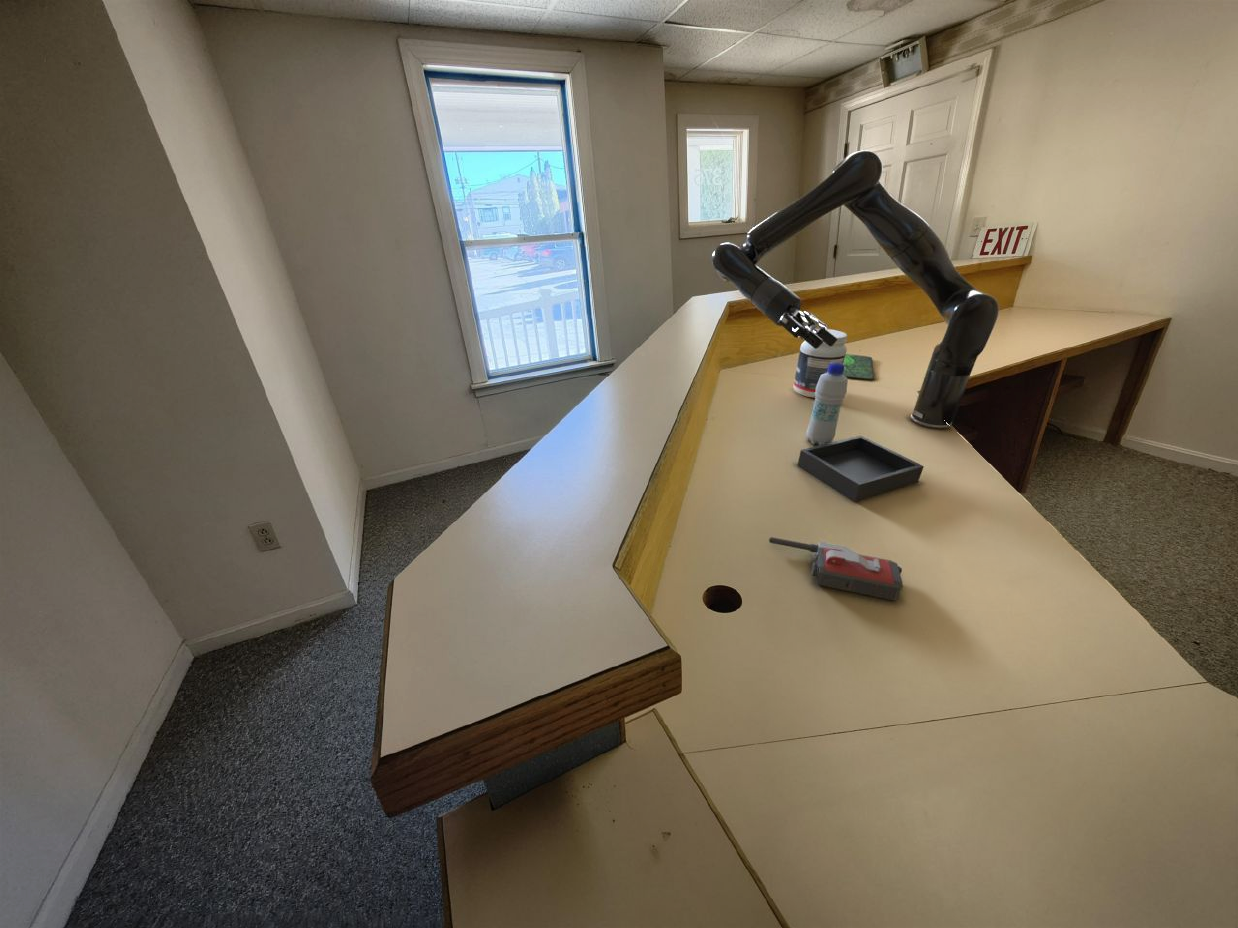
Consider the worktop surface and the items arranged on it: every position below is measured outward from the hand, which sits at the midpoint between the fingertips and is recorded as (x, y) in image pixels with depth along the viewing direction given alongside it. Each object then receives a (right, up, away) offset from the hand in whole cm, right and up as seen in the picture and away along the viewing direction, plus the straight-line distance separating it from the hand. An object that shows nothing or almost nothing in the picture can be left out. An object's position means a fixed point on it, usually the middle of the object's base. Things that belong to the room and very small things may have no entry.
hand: (827, 344), depth 102 cm
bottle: (+3, -22, +10) cm, 24 cm away
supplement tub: (+14, -5, +40) cm, 43 cm away
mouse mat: (+33, +9, +63) cm, 72 cm away
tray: (+5, -29, -3) cm, 30 cm away
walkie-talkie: (-13, -44, -29) cm, 55 cm away
